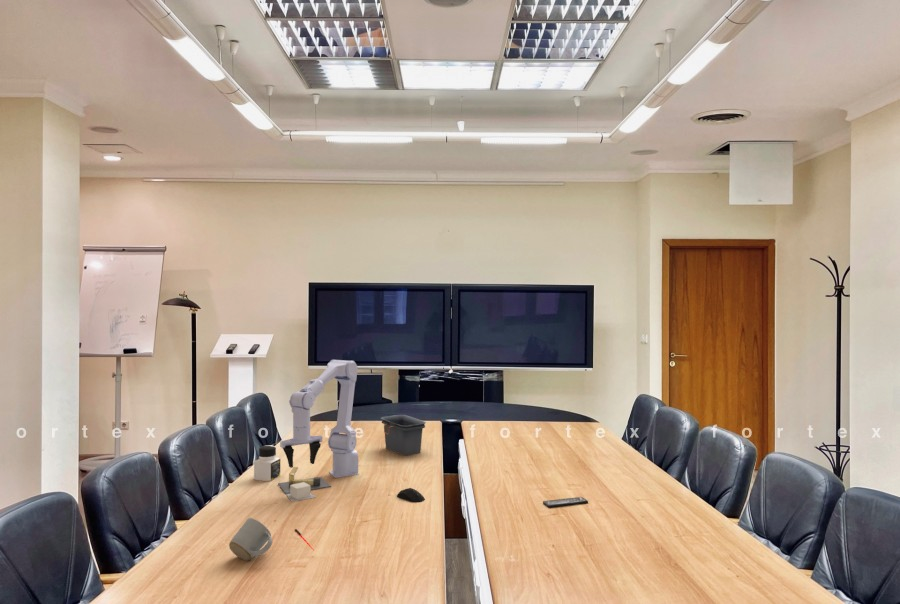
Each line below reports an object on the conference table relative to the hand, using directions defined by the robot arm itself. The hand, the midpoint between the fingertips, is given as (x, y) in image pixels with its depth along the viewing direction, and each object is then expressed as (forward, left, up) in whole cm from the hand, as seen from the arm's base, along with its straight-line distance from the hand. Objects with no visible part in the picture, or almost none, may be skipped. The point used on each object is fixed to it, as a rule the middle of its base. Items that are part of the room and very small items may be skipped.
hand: (301, 465), depth 197 cm
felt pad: (+1, +4, -10) cm, 11 cm away
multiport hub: (-73, +54, -10) cm, 91 cm away
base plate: (-3, -6, -10) cm, 12 cm away
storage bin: (-53, -34, -10) cm, 64 cm away
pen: (+10, +40, -10) cm, 43 cm away
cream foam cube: (+1, +4, -9) cm, 10 cm away
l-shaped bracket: (+2, -7, -10) cm, 12 cm away
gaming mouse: (-31, +25, -10) cm, 41 cm away
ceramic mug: (+24, +45, -10) cm, 52 cm away
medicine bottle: (+7, -23, -10) cm, 26 cm away
